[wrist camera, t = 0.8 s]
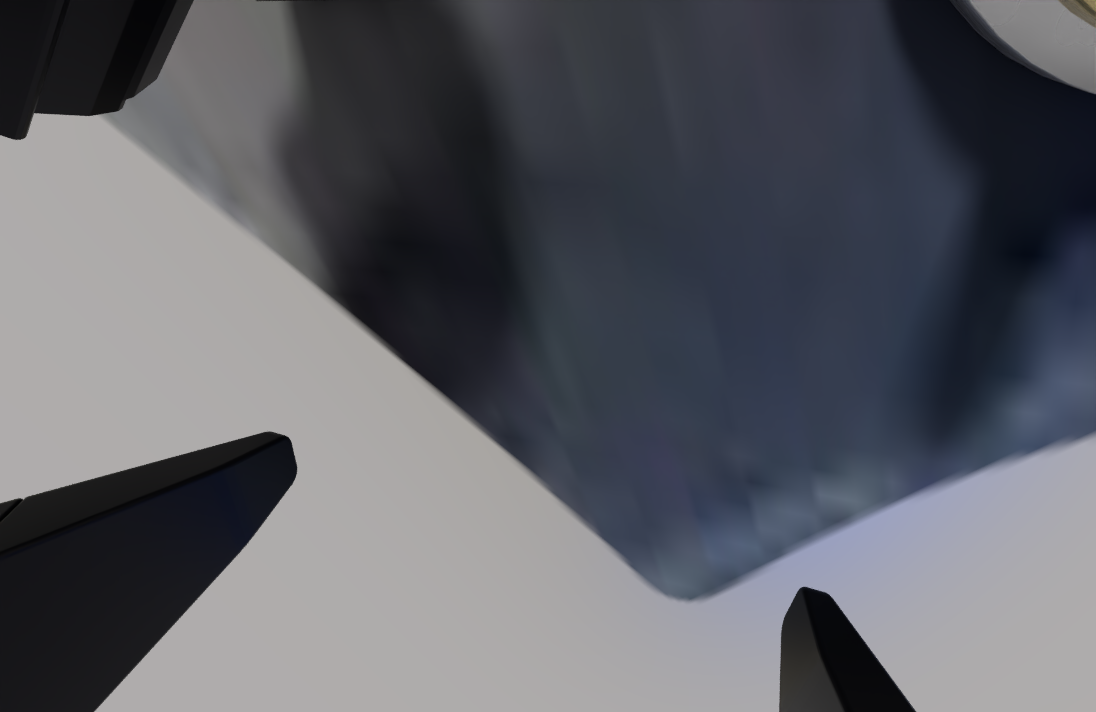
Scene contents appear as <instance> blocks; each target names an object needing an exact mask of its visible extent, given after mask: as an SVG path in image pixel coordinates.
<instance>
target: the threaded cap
mask: <svg viewBox="0 0 1096 712" xmlns="http://www.w3.org/2000/svg"><path fill="white" fill-rule="evenodd" d="M950 1H951V3H952V4H953V5H954V7H955V8H956V9H957V10H958V11H959V12H960V14H961V15H962V16H963V17H964V18H965V19H966V21H967V22H968V23H969V24H970V25H971V26H972V28H973V29H974V30H975V31H976V32H977V33H978V34H979V35H980V36H982V37H983V38H984V39H985V40H987V41H988V42H989V43H990V44H991V45H993V46H994V47H995V48H996V49H998V50H999V51H1000V52H1001V53H1002V54H1004V55H1005V56H1006V57H1008V58H1010V59H1012V60H1013V61H1015V62H1017V63H1019V64H1021V65H1022V66H1024V67H1026V68H1028V69H1029V70H1031V71H1033V72H1035V73H1037V74H1038V75H1040V76H1043V77H1046V78H1049V79H1051V80H1054V81H1057V82H1060V83H1062V84H1065V85H1068V86H1071V87H1073V88H1076V89H1079V90H1082V91H1086V92H1089V93H1092V94H1095V95H1096V28H1095V27H1093V26H1091V25H1090V24H1088V23H1087V22H1085V21H1084V20H1082V19H1080V18H1079V17H1077V16H1076V15H1074V14H1073V13H1071V12H1070V11H1069V10H1068V9H1067V8H1066V7H1065V6H1064V5H1062V4H1061V3H1060V2H1059V1H1058V0H950Z"/></svg>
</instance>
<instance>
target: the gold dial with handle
mask: <svg viewBox="0 0 1096 712" xmlns="http://www.w3.org/2000/svg"><path fill="white" fill-rule="evenodd" d="M1058 1H1059V2H1060V3H1061V4H1062V5H1064V6H1065V7H1066V8H1067V9H1068V10H1069V11H1070V12H1071V13H1073V14H1074V15H1076V16H1077V17H1079V18H1080V19H1082V20H1084V21H1085V22H1087V23H1088V24H1090V25H1091V26H1093V27H1095V28H1096V0H1058Z"/></svg>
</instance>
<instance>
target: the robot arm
mask: <svg viewBox="0 0 1096 712" xmlns="http://www.w3.org/2000/svg"><path fill="white" fill-rule="evenodd" d="M193 1H194V0H0V135H2V136H5V137H8V138H11V139H15V140H21V139H24V138H25V137H26V136H27V133H28V130H29V127H30V124H31V121H32V117H33V115H34V113H41V114H42V113H43V114H60V115H61V114H62V115H80V116H93V115H98V114H104V113H110V112H116V111H119V110H120V109H122V108H123V105H124V103H125V101H126V99H129V98H132V97H134V96H135V95H137V94H138V93H139V92H141V91H142V90H143V89H145V88H146V87H147V86H148V85H150V84H151V83H152V82H154V81H155V80H156V79H157V77H158V75H159V73H160V71H161V69H162V67H163V65H164V62H165V60H166V58H167V56H168V54H169V52H170V50H171V48H172V45H173V43H174V41H175V39H176V37H177V35H178V33H179V30H180V28H181V26H182V24H183V22H184V20H185V18H186V16H187V13H188V11H189V9H190V7H191V5H192V3H193ZM256 1H297V0H256ZM296 474H297V464H296V460H295V456H294V452H293V447H292V443H291V440H290V439H289V437H287V436H285V435H281V434H277V433H274V432H263V433H260V434H256V435H253V436H249V437H245V438H241V439H238V440H234V441H231V442H227V443H223V444H219V445H216V446H212V447H209V448H205V449H201V450H197V451H194V452H190V453H187V454H183V455H179V456H176V457H172V458H168V459H164V460H161V461H157V462H153V463H149V464H146V465H142V466H138V467H135V468H131V469H127V470H124V471H120V472H116V473H113V474H109V475H105V476H102V477H98V478H95V479H91V480H87V481H83V482H80V483H76V484H72V485H69V486H65V487H61V488H58V489H54V490H51V491H47V492H43V493H39V494H36V495H32V496H28V497H26V498H25V499H24V500H23V499H21V498H18V499H14V500H11V501H7V502H4V503H0V712H94V711H95V710H96V709H97V708H98V707H99V706H100V705H101V704H102V703H103V702H104V700H105V699H106V698H107V697H108V696H109V695H110V694H111V693H112V692H113V691H114V689H115V688H116V687H117V686H118V685H119V684H120V683H121V682H122V681H123V679H125V677H126V676H127V675H128V674H129V673H130V672H131V671H132V670H133V669H134V668H135V667H136V665H137V664H138V663H139V662H140V661H141V660H142V659H143V658H144V657H145V656H146V655H147V653H148V652H149V651H150V650H151V649H152V648H153V647H154V646H155V644H157V642H158V641H159V640H160V639H161V638H162V637H163V636H164V635H165V634H166V633H167V631H168V630H169V629H170V628H171V627H172V626H173V625H174V624H175V623H176V622H177V621H178V620H179V618H180V617H181V616H182V615H183V614H184V613H185V612H186V611H187V610H188V609H189V607H190V606H191V605H192V604H193V603H194V602H195V601H196V600H197V598H198V597H200V595H201V594H202V593H203V592H204V591H205V590H206V589H207V588H208V587H209V586H210V585H211V583H212V582H213V581H214V580H215V579H216V578H217V577H218V576H219V575H220V574H221V572H222V571H223V570H224V569H225V568H226V567H227V566H228V565H229V564H230V563H231V562H232V560H233V559H234V558H235V557H236V556H237V555H238V554H239V553H240V552H241V550H242V549H243V548H244V547H245V546H246V545H247V543H248V542H249V541H250V540H251V538H252V537H253V536H254V535H255V533H256V532H257V531H258V529H259V528H260V527H261V525H262V524H263V523H264V521H265V520H266V519H267V517H268V516H269V515H270V513H271V512H272V511H273V509H274V508H275V507H276V505H277V504H278V503H279V501H280V500H281V498H282V497H283V496H284V494H285V493H286V492H287V490H288V489H289V488H290V486H291V485H292V484H293V482H294V480H295V478H296ZM780 665H781V666H780V704H779V712H916V711H915V709H914V708H913V707H912V705H911V704H910V703H909V701H908V700H907V699H906V697H905V696H904V695H903V693H902V692H901V690H900V689H899V688H898V686H897V685H896V684H895V682H894V681H893V680H892V678H891V677H890V676H889V674H888V673H887V671H886V670H885V669H884V668H883V666H882V665H881V663H880V662H879V661H878V659H877V658H876V657H875V655H874V654H873V652H872V651H871V650H870V648H869V647H868V646H867V644H866V643H865V642H864V640H863V639H862V638H861V636H860V635H859V633H858V632H857V631H856V629H855V628H854V627H853V625H852V624H851V623H850V621H849V620H848V618H847V617H846V616H845V614H844V613H843V612H842V610H841V609H840V608H839V606H838V605H837V604H836V602H835V601H834V599H833V598H832V597H831V596H830V595H829V594H827V593H825V592H822V591H818V590H814V589H811V588H808V587H802V588H800V589H799V591H798V592H797V594H796V596H795V598H794V600H793V602H792V603H791V606H790V607H789V609H788V611H787V613H786V615H785V617H784V621H783V625H782V632H781V664H780Z"/></svg>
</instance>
